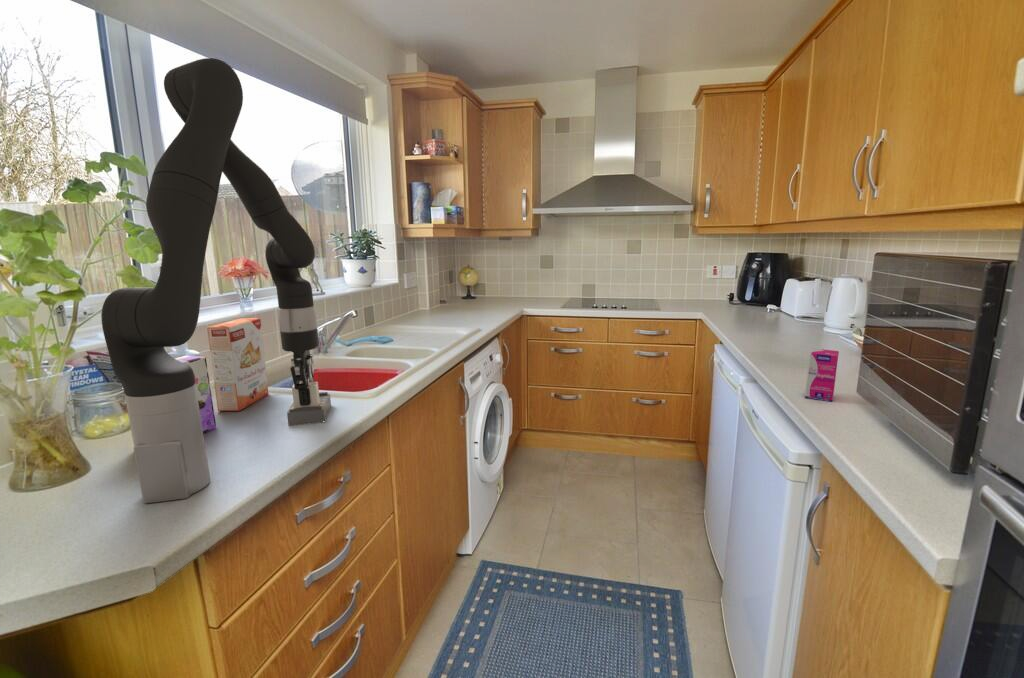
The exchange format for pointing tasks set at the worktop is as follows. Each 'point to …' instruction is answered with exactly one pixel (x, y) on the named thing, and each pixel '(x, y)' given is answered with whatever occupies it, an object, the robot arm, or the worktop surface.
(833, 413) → the worktop surface
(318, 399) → the fader tab
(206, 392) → the candy box
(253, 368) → the cracker box
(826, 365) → the supplement box
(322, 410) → the fader console
